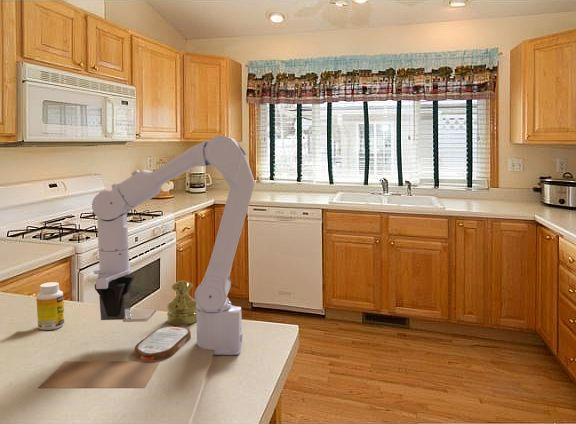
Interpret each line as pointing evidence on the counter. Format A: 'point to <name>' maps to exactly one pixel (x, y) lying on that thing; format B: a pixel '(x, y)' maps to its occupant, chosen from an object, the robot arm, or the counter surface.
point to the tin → (162, 343)
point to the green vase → (182, 305)
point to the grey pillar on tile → (127, 311)
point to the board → (101, 374)
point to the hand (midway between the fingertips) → (116, 312)
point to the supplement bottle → (50, 306)
